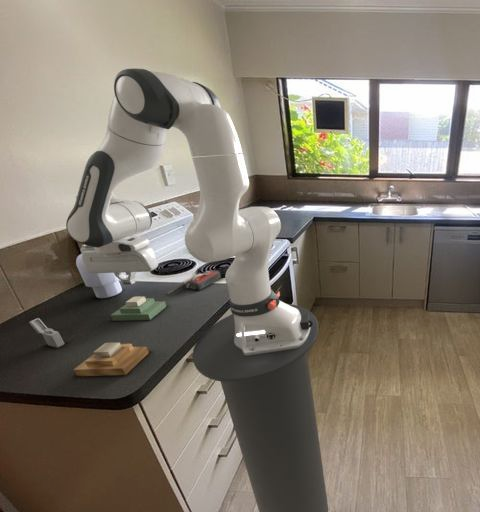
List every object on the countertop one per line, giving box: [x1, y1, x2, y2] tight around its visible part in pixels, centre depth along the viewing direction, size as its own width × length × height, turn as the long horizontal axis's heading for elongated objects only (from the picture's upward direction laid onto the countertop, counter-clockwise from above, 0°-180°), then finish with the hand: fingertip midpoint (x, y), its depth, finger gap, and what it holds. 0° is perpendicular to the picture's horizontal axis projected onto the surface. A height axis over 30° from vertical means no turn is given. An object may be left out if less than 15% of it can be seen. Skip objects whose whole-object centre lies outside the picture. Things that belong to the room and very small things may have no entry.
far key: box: [125, 295, 146, 307], centre depth 96 cm, size 4×4×2 cm
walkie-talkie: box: [165, 269, 222, 296], centre depth 115 cm, size 9×4×20 cm
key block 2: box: [73, 343, 149, 377], centre depth 75 cm, size 12×8×4 cm, turn 92°
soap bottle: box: [75, 243, 123, 299], centre depth 105 cm, size 10×10×24 cm
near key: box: [93, 342, 122, 358], centre depth 74 cm, size 4×4×2 cm
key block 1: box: [110, 297, 167, 322], centre depth 97 cm, size 12×8×4 cm, turn 92°
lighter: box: [29, 317, 65, 349], centre depth 82 cm, size 7×2×8 cm, turn 75°
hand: (129, 283), depth 93 cm, fingers closed
